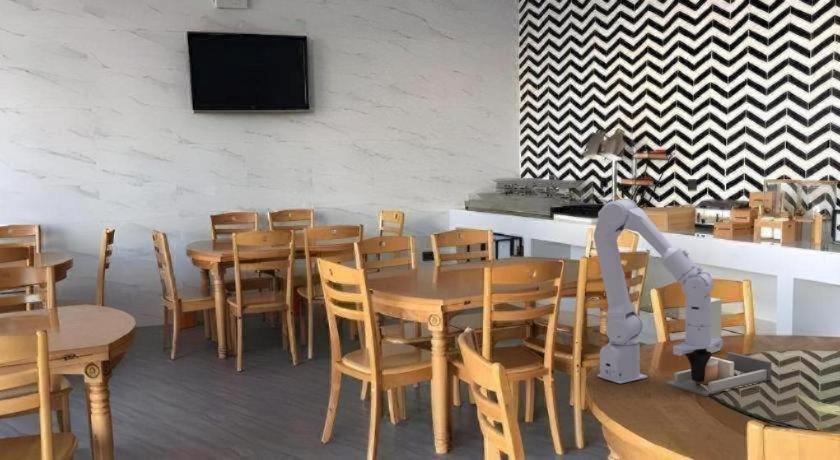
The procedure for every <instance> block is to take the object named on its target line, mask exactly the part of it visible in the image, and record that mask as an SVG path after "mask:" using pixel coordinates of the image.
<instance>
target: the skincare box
mask: <svg viewBox="0 0 840 460" xmlns="http://www.w3.org/2000/svg"><path fill="white" fill-rule="evenodd" d="M711 338H719V339H722V299H721V298H716V297H711ZM721 348H722V347H720V348H719V347H715V348H712V349H706V351H709V352H711V354H713V353H716V352H718V351H719V352H720V351H721Z"/></svg>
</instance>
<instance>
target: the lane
mask: <svg viewBox="0 0 840 460" xmlns="http://www.w3.org/2000/svg"><path fill="white" fill-rule="evenodd" d="M726 360H727V361H732V362H734V370H737V371H740V372H741V373H740V374H739V375H737V376H733V377H729V378H725V379H721V380H716V381H712V382H708V391H706V390H705V389H704V388H703V387H701V386H700V384H699V383H696V382H695V381H692V376H691V368H690V369H687V370H682V371H677V372H674V376H673V377H674V380H673V379H672V380H670V381H665V383H664V385H667V386H670V387H673V388H676V389H680V390H683V391H687V392H690V393H692V394H696V395H700V396H703V397H709V394H711V393H715V392H719V391H722V390H726V389H730V388H735V387H739V386H745V385H749V384H754V383H758V384H760V383H759V382H762V383H764V382H763V381H766V382H768V381H767V380H770V381H772V361H769V360H765V359H760V358H758V357H757V358H756V357H752V356H748V355H743V354H739V353H735V352H731V351H730V352H729V351H728V352H726ZM754 385H755V384H754ZM709 391H710V392H709Z"/></svg>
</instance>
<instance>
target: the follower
mask: <svg viewBox="0 0 840 460" xmlns="http://www.w3.org/2000/svg"><path fill="white" fill-rule="evenodd" d="M710 358H714V359H717V360H718V380H721V379H725V378H729V377H733V376H734V362H732V361H727V359H723V358H720V357H716V356H711V357H710Z"/></svg>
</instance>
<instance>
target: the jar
mask: <svg viewBox="0 0 840 460" xmlns="http://www.w3.org/2000/svg"><path fill="white" fill-rule="evenodd" d="M716 380H718V360H717V359H714V358H710V359H709V360H708V362H707V364H706V367H705V378H704V381H703V382H696V381H695V382H696V383H699V384H703V385H708V382H712V381H716Z"/></svg>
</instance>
